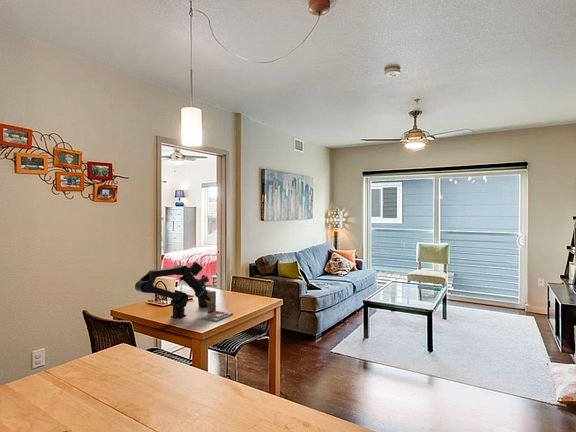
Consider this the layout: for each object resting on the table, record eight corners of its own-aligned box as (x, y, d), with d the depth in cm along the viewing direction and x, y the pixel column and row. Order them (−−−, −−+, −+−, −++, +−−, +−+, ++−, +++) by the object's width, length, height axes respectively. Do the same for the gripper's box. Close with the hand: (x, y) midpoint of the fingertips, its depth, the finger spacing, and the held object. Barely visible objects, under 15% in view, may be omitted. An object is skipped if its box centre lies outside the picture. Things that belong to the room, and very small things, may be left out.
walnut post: (212, 314, 210) (212, 292, 210) (205, 313, 212) (205, 292, 212) (217, 312, 214) (217, 291, 214) (211, 311, 216) (211, 290, 216)
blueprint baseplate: (216, 321, 195) (216, 318, 195) (201, 319, 200) (201, 315, 200) (233, 314, 210) (233, 311, 209) (218, 312, 214) (218, 308, 214)
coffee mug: (198, 309, 221) (198, 293, 221) (196, 305, 229) (196, 290, 229) (216, 307, 226) (216, 291, 226) (214, 304, 234) (214, 289, 234)
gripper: (200, 274, 203) (220, 292, 205) (201, 269, 221) (219, 285, 223) (186, 288, 201) (206, 306, 203) (188, 282, 219) (206, 298, 222)
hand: (210, 298), depth 213 cm, fingers open, 9 cm apart
